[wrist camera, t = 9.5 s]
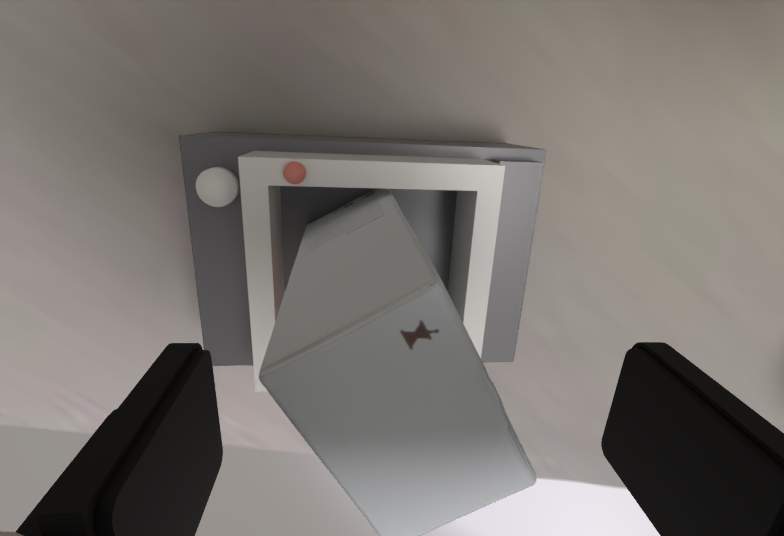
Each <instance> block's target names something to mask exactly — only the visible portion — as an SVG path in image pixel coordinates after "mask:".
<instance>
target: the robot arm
mask: <svg viewBox="0 0 784 536" xmlns="http://www.w3.org/2000/svg"><path fill="white" fill-rule="evenodd" d="M601 443H602V450H603V453H604V456H605V457H606V459H607V460H608V462H609V463H610V465H611V466H612V467H613V469H614V470H615V472H616V473H617V474H618V476H619V477H620V479H621V480H622V482H623V483H624V484H625V486H626V487H627V489H628V490H629V491H630V492H631V494H632V496H633V497H634V499H635V500H636V501H637V503H638V504H639V506H640V507H641V508H642V510H643V511H644V513H645V514H646V516H647V517H648V518H649V520H650V521H651V523H652V524H653V525H654V527H655V528H656V530H657V531H658V532H659V534H660V535H661V536H784V433H782V432H781V431H780V430H778V429H777V428H776V427H775V426H773V425H772V424H771V423H769V422H768V421H767V420H765V419H764V418H763V417H762V416H760V415H759V414H758V413H756V412H755V411H754V410H752V409H751V408H750V407H749V406H747V405H746V404H745V403H743V402H742V401H741V400H739V399H738V398H737V397H736V396H734V395H733V394H732V393H730V392H729V391H728V390H726V389H725V388H724V387H723V386H721V385H720V384H719V383H717V382H716V381H715V380H713V379H712V378H711V377H710V376H708V375H707V374H706V373H704V372H703V371H702V370H700V369H699V368H698V367H697V366H695V365H694V364H693V363H691V362H690V361H689V360H687V359H686V358H685V357H684V356H682V355H681V354H680V353H678V352H677V351H676V350H674V349H673V348H672V347H671V346H669V345H668V344H666V343H661V342H639V343H636V344H635V345H634V346H633V347H632V349H629V350H628V351H627V353H626V355H625V358H624V362H623V365H622V369H621V373H620V376H619V380H618V383H617V387H616V391H615V394H614V398H613V401H612V405H611V408H610V412H609V416H608V419H607V423H606V426H605V430H604V434H603V437H602V442H601ZM222 449H223V448H222V440H221V432H220V424H219V416H218V408H217V399H216V391H215V383H214V375H213V367H212V359H211V354H210V351H209V350H202V347H201V345H200V344H199V343H171V344H169V345H168V346H167V347H166V348H165V349H164V350H163V352H162V353H161V354H160V355H159V357H158V358H157V359H156V361H155V362H154V363H153V364H152V366H151V367H150V368H149V369H148V371H147V372H146V373H145V375H144V376H143V377H142V378H141V380H140V381H139V382H138V383H137V385H136V386H135V387H134V389H133V390H132V391H131V392H130V394H129V395H128V396H127V398H126V399H125V400H124V401H123V403H122V404H121V405H120V406H119V408H118V409H116V410H114V411H113V412H112V413H111V414H110V415H109V416H108V417H107V418H106V419H105V420H104V422H103V423H102V424H101V425H100V427H99V428H98V429H97V430H96V432H95V433H94V434H93V436H92V437H91V438H90V439H89V441H88V442H87V443H86V444H85V446H84V447H83V448H82V449H81V451H80V452H79V453H78V454H77V456H76V457H75V458H74V460H73V461H72V462H71V463H70V464H69V466H68V467H67V468H66V470H65V471H64V472H63V473H62V474H61V476H60V477H59V478H58V479H57V481H56V482H55V483H54V485H53V486H52V487H51V488H50V489H49V491H48V492H47V493H46V494H45V496H44V497H43V498H42V500H41V501H40V502H39V503H38V504H37V506H36V507H35V508H34V510H33V511H32V512H31V513H30V515H29V516H28V517H27V518H26V520H25V521H24V522H23V523H22V525H21V526H20V527H19V528H18V530H17V531H16V532H0V536H195V533H196V531H197V528H198V525H199V523H200V520H201V517H202V515H203V512H204V509H205V506H206V504H207V501H208V499H209V496H210V493H211V491H212V488H213V485H214V483H215V480H216V477H217V475H218V472H219V469H220V466H221V462H222V454H223V450H222Z"/></svg>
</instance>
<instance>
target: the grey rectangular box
mask: <svg viewBox="0 0 784 536" xmlns="http://www.w3.org/2000/svg"><path fill="white" fill-rule="evenodd" d="M179 139H180V148H181V156H182V165H183V173H184V182H185V191H186V199H187V208H188V216H189V225H190V233H191V242H192V250H193V259H194V267H195V276H196V285H197V293H198V302H199V310H200V319H201V327H202V336H203V344H204V350H209V351H210V354H211V359H212V366H228V365H254V378H255V391H256V392H268V391H267V389H266V388H265V387H264V385H263V384H262V383H261V382H260V380H259V372H260V368H261V366H262V362H263V359H264V356H265V353H266V350H267V347H268V344H269V341H270V338H271V335H272V331H273V328H274V325H275V322H276V319H277V316H278V312H279V309H280V306H281V303H282V300H283V296H284V293H285V291H286V288H287V284H288V281H289V278H290V275H291V272H292V268H293V265H294V262H295V259H296V256H297V253H298V250H299V247H300V244H301V241H302V238H303V235H304V232H305V228H306V226H307V225H308V224H309V223H311V222H313V221H315V220H317V219H319V218H321V217H323V216H325V215H327V214H329V213H331V212H333V211H335V210H336V209H338V208H340V207H342V206H344V205H346V204H347V203H349V202H351V201H353V200H355V199H357V198H359V197H361V196H363V195H365V194H367V193H369V192H371V191H373V190H375V189H377V188H383V189H389V190H390V192H391V193H392V195H393V197H394V199H395V200H396V202H397V204H398V206H399V207H400V209H401V211H402V213H403V215H404V216H405V218H406V220H407V221H408V223H409V225H410V226H411V228H412V230H413V231H414V233H415V235H416V237H417V238H418V240H419V242H420V244H421V245H422V247H423V248H424V250H425V251H426V253H427V254H428V256H429V258H430V260H431V261H432V263H433V265H434V267H435V269H436V271H437V273H438V275H439V276H440V278H441V280H442V282H443V284H444V286H445V288H446V290H447V292H448V294H449V296H450V298H451V300H452V302H453V304H454V306H455V308H456V310H457V312H458V314H459V316H460V318H461V320H462V322H463V324H464V326H465V328H466V330H467V332H468V334H469V336H470V338H471V340H472V342H473V344H474V346H475V348H476V350H477V352H478V354H479V356H480V358H481V360H482V362H513V360H514V355H515V349H516V342H517V336H518V329H519V323H520V317H521V310H522V304H523V297H524V291H525V285H526V278H527V272H528V265H529V259H530V253H531V246H532V240H533V233H534V227H535V221H536V214H537V208H538V201H539V195H540V189H541V182H542V176H543V169H544V163H545V157H546V150H545V149H539V148H532V147H526V146H520V145H513V144H506V143H481V142H455V141H430V140H405V139H380V138H355V137H329V136H304V135H279V134H254V133H229V132H208V133H199V134H190V135H180V136H179Z"/></svg>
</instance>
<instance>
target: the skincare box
mask: <svg viewBox="0 0 784 536" xmlns="http://www.w3.org/2000/svg"><path fill="white" fill-rule="evenodd" d="M259 380H260V382H261V383H262V384H263V385H264V387H265V388H266V389H267V391H268V392H269V393H270V395H271V396H272V397H273V399H274V400H275V401H276V403H277V404H278V405H279V407H280V408H281V409H282V410H283V412H284V413H285V414H286V416H287V417H288V418H289V420H290V421H291V422H292V424H293V425H294V426H295V428H296V429H297V430H298V432H299V433H300V434H301V435H302V437H303V438H304V439H305V441H306V442H307V443H308V445H309V446H310V447H311V448H312V450H313V451H314V452H315V454H316V455H317V456H318V457H319V459H320V460H321V461H322V463H323V464H324V465H325V466H326V468H327V469H328V470H329V471H330V473H331V474H332V475H333V476H334V478H335V479H336V480H337V482H338V483H339V484H340V485H341V487H342V488H343V489H344V490H345V492H346V493H347V494H348V496H349V497H350V498H351V500H352V501H353V502H354V504H355V505H356V506H357V507H358V509H359V510H360V511H361V513H362V514H363V515H364V516H365V517H366V519H367V520H368V521H369V523H370V524H371V526H372V527H373V528H374V530H375V531H376V532H377V534H378V535H379V536H421V535H423V534H425V533H428V532H430V531H432V530H434V529H436V528H438V527H440V526H442V525H445V524H447V523H449V522H451V521H453V520H455V519H458V518H460V517H462V516H465V515H467V514H469V513H471V512H473V511H476V510H478V509H480V508H482V507H484V506H487V505H489V504H491V503H493V502H496V501H498V500H500V499H502V498H505V497H507V496H509V495H511V494H514V493H516V492H519V491H521V490H523V489H525V488H528V487H530V486H532V485H534V484H535V482H536V475H535V472H534V470H533V468H532V466H531V464H530V462H529V460H528V457H527V455H526V453H525V451H524V449H523V447H522V445H521V443H520V441H519V439H518V437H517V435H516V433H515V431H514V429H513V427H512V425H511V423H510V421H509V419H508V416H507V414H506V412H505V410H504V407H503V404H502V402H501V399H500V397H499V394H498V392H497V390H496V388H495V386H494V385H493V383H492V381H491V379H490V378H489V376H488V373H487V371H486V369H485V367H484V365H483V363H482V360H481V358H480V356H479V354H478V352H477V350H476V348H475V346H474V344H473V342H472V340H471V338H470V336H469V334H468V332H467V330H466V328H465V326H464V324H463V322H462V320H461V318H460V316H459V314H458V312H457V310H456V308H455V306H454V304H453V302H452V300H451V298H450V296H449V294H448V292H447V290H446V288H445V286H444V284H443V282H442V280H441V278H440V276H439V275H438V273H437V271H436V269H435V267H434V265H433V263H432V261H431V260H430V258H429V256H428V254H427V253H426V251H425V250H424V248H423V247H422V245H421V244H420V242H419V240H418V238H417V237H416V235H415V233H414V231H413V230H412V228H411V226H410V225H409V223H408V221H407V220H406V218H405V216H404V215H403V213H402V211H401V209H400V207H399V206H398V204H397V202H396V200H395V199H394V197H393V195H392V193H391V192H390V190H389V189H383V188H377V189H375V190H373V191H371V192H369V193H367V194H365V195H363V196H361V197H359V198H357V199H355V200H353V201H351V202H349V203H347V204H346V205H344V206H342V207H340V208H338V209H336V210H335V211H333V212H331V213H329V214H327V215H325V216H323V217H321V218H319V219H317V220H315V221H313V222H311V223H309V224H308V225H307V226H306V228H305V232H304V235H303V238H302V241H301V244H300V247H299V250H298V253H297V256H296V259H295V262H294V265H293V268H292V272H291V275H290V278H289V281H288V284H287V288H286V291H285V293H284V296H283V300H282V303H281V306H280V309H279V312H278V316H277V319H276V322H275V325H274V328H273V331H272V335H271V338H270V341H269V344H268V347H267V350H266V353H265V356H264V359H263V362H262V366H261V368H260V372H259Z"/></svg>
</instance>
